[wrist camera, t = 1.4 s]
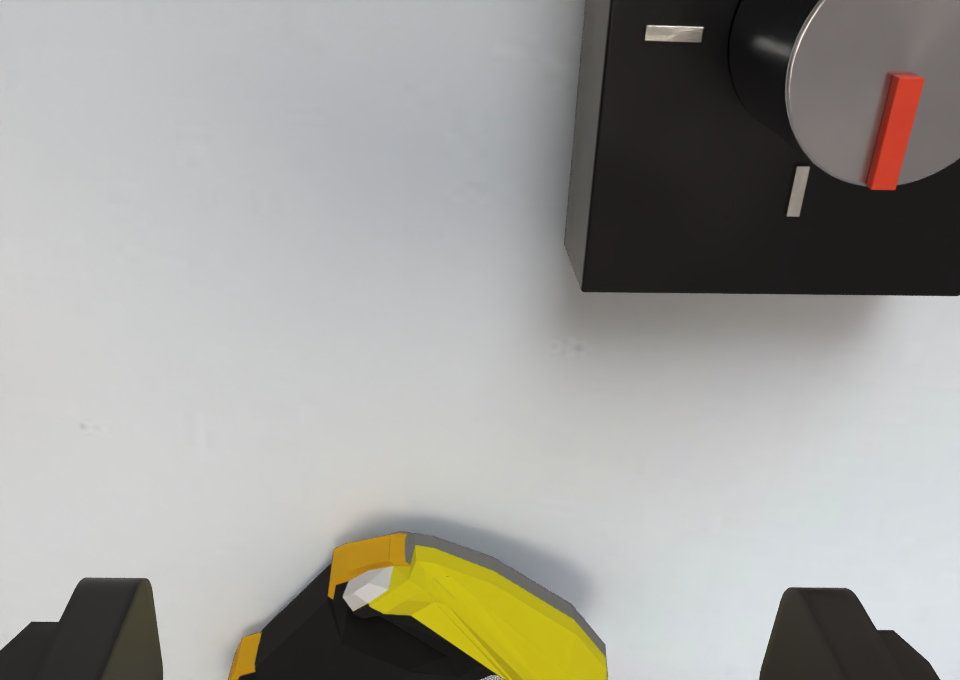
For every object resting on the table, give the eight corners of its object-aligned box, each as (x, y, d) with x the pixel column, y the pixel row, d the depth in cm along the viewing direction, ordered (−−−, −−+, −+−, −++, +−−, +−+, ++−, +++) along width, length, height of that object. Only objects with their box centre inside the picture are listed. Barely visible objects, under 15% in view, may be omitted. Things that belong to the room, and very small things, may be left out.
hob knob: (747, -78, 21) (820, -64, 17) (956, -70, 21) (1073, -54, 17) (713, 136, 23) (770, 190, 19) (901, 140, 23) (993, 194, 20)
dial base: (611, -299, 22) (645, -326, 18) (1049, -274, 22) (1155, -296, 19) (563, 245, 28) (582, 295, 25) (903, 250, 29) (963, 299, 26)
